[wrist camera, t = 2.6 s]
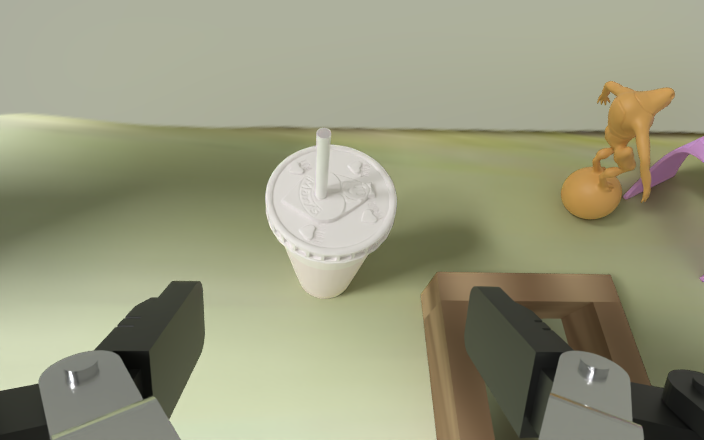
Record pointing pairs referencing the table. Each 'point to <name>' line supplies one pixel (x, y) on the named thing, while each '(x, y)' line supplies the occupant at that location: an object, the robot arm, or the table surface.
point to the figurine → (616, 152)
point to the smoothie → (329, 212)
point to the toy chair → (669, 167)
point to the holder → (552, 308)
